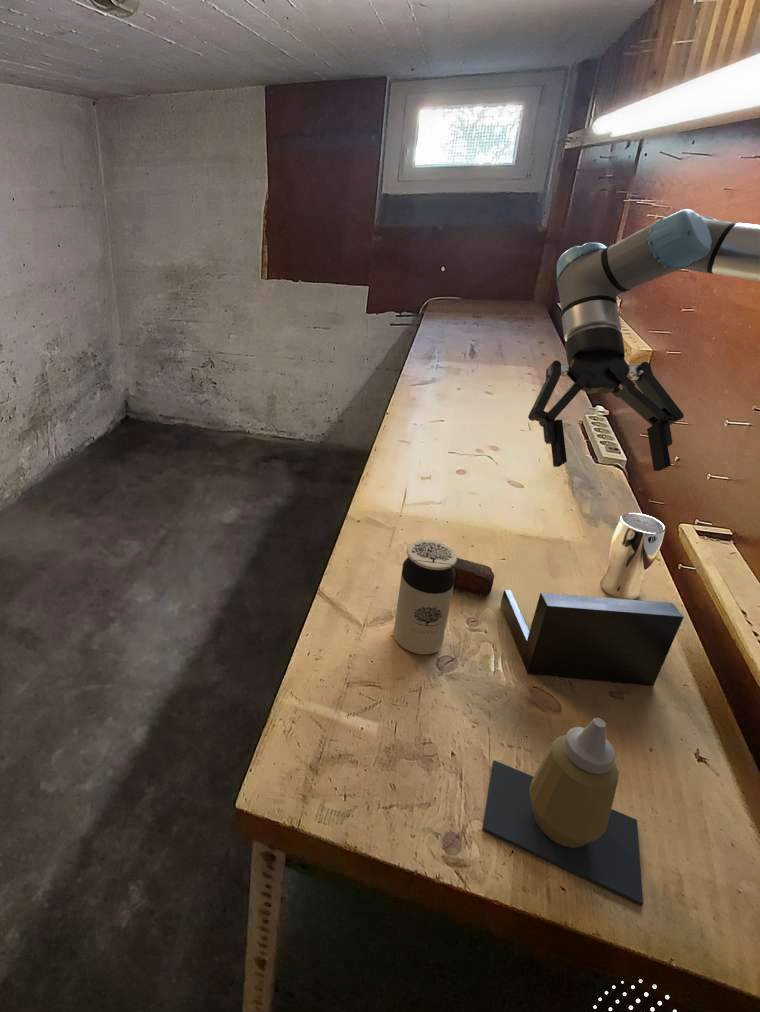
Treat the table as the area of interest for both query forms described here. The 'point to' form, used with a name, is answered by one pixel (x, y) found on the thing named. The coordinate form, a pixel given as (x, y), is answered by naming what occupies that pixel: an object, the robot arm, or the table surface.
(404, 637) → the travel mug
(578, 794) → the squeeze bottle
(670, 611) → the black angular stand
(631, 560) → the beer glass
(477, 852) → the table surface
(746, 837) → the table surface
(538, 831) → the mat
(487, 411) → the table surface
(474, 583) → the brick
